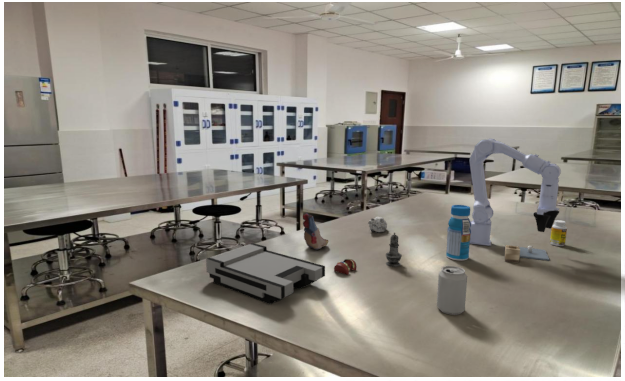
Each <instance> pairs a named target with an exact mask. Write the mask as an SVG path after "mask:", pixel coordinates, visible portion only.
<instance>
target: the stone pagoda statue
mask: <svg viewBox="0 0 625 381" xmlns="http://www.w3.org/2000/svg"><path fill="white" fill-rule="evenodd" d="M389 240H390V243H389V244H388V246H389V250H388V251H389V252H387V253H385V257H386V260H387V262H386V263H385V265H386V266H388V267H392V268H397V267H401V263H400V260H401V259H402V257H403V255H402V254H401V253H400V252H399V247H400V244H399V236H398V235H397V234H396V232H393V234H392V235H391V236H390V239H389Z"/></svg>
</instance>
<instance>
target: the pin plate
mask: <svg viewBox="0 0 625 381" xmlns="http://www.w3.org/2000/svg"><path fill="white" fill-rule="evenodd" d="M519 248H520V256H519V258H522V259H523V258H525V259H533V260H538V261H539V260H540V261H548V262H549V261H550V258H549V255H548V254H547V251H546V249H541V248H540V249H539V248H533V245H528V246H527V247H523V246H519Z"/></svg>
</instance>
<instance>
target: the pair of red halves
mask: <svg viewBox="0 0 625 381" xmlns="http://www.w3.org/2000/svg"><path fill="white" fill-rule="evenodd" d="M357 266H358V265H357V263H356V261H355V260H354V259H350V258H346V259H344V260H342V261H338V262H337V263H336V265H334V267H333V271H334V272H335V273H339V274H343V275H346V276H348V275H349V274H350V270H352V271H357Z"/></svg>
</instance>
